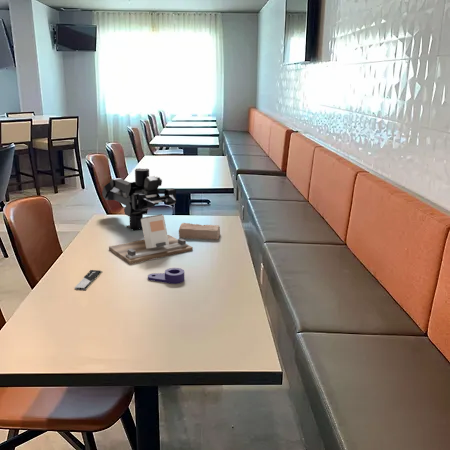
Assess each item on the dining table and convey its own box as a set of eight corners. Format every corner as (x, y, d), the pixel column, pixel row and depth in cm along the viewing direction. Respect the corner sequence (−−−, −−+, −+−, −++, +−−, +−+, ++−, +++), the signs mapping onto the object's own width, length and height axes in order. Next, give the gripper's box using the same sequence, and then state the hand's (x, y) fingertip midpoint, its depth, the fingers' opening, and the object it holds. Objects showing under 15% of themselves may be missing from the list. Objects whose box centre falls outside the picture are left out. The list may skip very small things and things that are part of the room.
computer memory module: (85, 288, 143) (72, 287, 144) (85, 291, 144) (73, 290, 144) (102, 270, 158) (91, 269, 158) (102, 273, 158) (91, 272, 158)
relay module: (146, 248, 174) (140, 218, 174) (162, 245, 178) (157, 215, 178) (153, 247, 169) (147, 216, 169) (170, 244, 173) (164, 213, 173)
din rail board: (108, 249, 178) (108, 240, 177) (168, 237, 193) (168, 229, 192) (130, 264, 164) (129, 254, 163) (192, 250, 179) (192, 241, 178)
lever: (186, 277, 156) (186, 268, 155) (182, 285, 150) (182, 276, 149) (150, 275, 157) (150, 266, 156) (145, 282, 151) (145, 273, 150)
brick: (220, 234, 200) (220, 223, 198) (218, 240, 192) (218, 229, 190) (181, 232, 201) (181, 222, 199) (178, 239, 193) (178, 228, 191)
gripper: (124, 178, 185) (142, 185, 173) (165, 173, 195) (185, 180, 184) (125, 205, 188) (143, 214, 176) (166, 199, 199) (185, 207, 187)
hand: (165, 203), depth 181 cm, fingers open, 9 cm apart
